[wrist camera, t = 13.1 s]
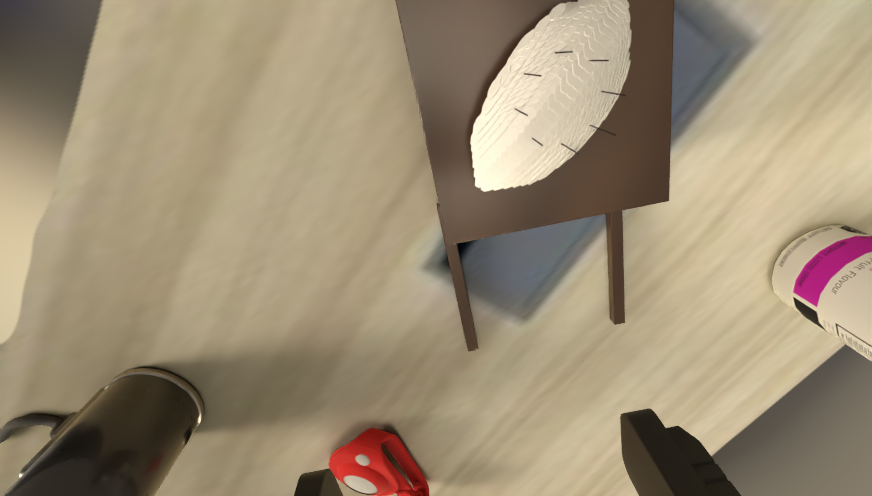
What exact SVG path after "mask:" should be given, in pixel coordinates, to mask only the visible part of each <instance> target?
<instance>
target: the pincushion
mask: <svg viewBox="0 0 872 496" xmlns="http://www.w3.org/2000/svg"><path fill="white" fill-rule="evenodd" d="M628 8H629V3H628V1H627V0H578V2H573V3H572V2H567V3H560V4H559V5H557V6H556V7H554V8H553V9H552V11H551V12H550V14H549V15H547V16H545V17H544V18H543V19H542V20H540V21H539V22H538V24H537V25H536V27H535V29H532V30H531V31H530V32H528V33H527V34H526V35H525V36H524V37H523V38H522V39H521V41H520V42H519V43H518V45H517V47H516V48H515V49H514V51H513V52H512V54H511V56H510V57H509V58H508V60H507V63H506V65H505V66H504V67H503V68H502V70H501V71H500V73H499V74H498V75H497V77H496V79H495V80H494V81H493V82H492V84H491V86H490V88H489V90H488V94H487V98H486V99H485V102H484V104H483V106H482V112H481V114H480V115H479V116H478V117H477V119H476V121H475V123H474V125H473V133H472V135H471V142H470V144H471V151H472V159H473V166H472V167H473V168H474V177H475V178H476V179H475V186H476V187H478V188H481V190H482V191H484V192H486V191H490V190H492V189H493V190H494V191H496V190H499V189H502V188H504V189H507V188H510V187H514V188H515V187H517V186H520V185H521V186H524V185H526V184H528V185H531V184H532V183H534V182H536V181H537V180H539V181H540V180H541V179H543V178H545V177H547V176H548V175H549V174H550V173H552V172H553V171H554V169H557V168H558V167H560V166H561V165H562V164H563V163H564V162H565V161H566V160H568V159H570V158H571V157H572V156H573V155H574V154H575V153H576V154H578V155H579V153H577V151H578V150H579V149H580V148H581V147H582V146H583V145H584V144H585V143H586V141H587V140H588V139H589V138H590V137H591V136H592V135H593V134H594V132H595V131H596V129H599V130H602V131H604V132H607V133H609V134H612V135H614V136H616V134H613V133H611V132H608V131H606V130H603V129H600V128H599V126H600V125H601V123H602V121H603V120H605V119H606V117H607V115H608V114H609V112H610V110H611V109H612V107H613V105H614V103H615V102H616V100H617V99H618V97H619V95H621V96H626V95H624V94H620V92H621V89H622V87H623V84H624V82H625V80H626V77H627V74H628V70H629V66H630V61H631V60H629V56H630V52H629V53H628V51H629V48H630V44H631V29H630V23H629V22H630V13H629V10H628ZM628 61H629V62H628ZM616 96H617V97H616ZM614 97H615V98H614ZM613 99H614V101H613ZM612 102H613V103H612ZM611 104H612V105H611ZM609 105H610V106H609ZM608 107H609V108H608ZM607 110H608V111H607ZM594 129H595V130H594Z"/></svg>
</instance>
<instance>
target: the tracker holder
mask: <svg viewBox="0 0 872 496" xmlns="http://www.w3.org/2000/svg"><path fill="white" fill-rule="evenodd" d="M382 443H384V445H385V446H386V447H387V449H388V450H389V452H390V453H391V454H392V456H393V457H394V458H395V460H396V461H397V463H398V464H399V465H400V467H401V468H402V470H403V471H404V472H405V473H406V475H407V476H408V478H409V480H410V481H411V483H412V485H413V488H412V486H411V485H410V484H409V483H408V481H407V480H406V479H405V478H404V477H403V476H402V475H401V474H400V472H399V471H398V470H397V469H396V468H395V467H394V466H393V465H392V464H391V462H390V461H389V460H388V458H387V457H386V455H385V454H384V452H383V450H382V448H381V444H382ZM329 469H331V470H332V472H333V474H334V476H335V477H336V478H337V479H338V480H340V481H341V482H342V483H344V484H345V485H346V486H347V487H349V488H350V489H352V490H354V491H356V492H359V493H362V494H366V495H376V496H387V495H392V494H394V493H396V494H397V496H429V487H428V484H427V481H426V479H425V478H424V476H423V474H422V473H421V471H420V470H419V468H418V467H417V465H416V464H415V462H414V461H413V459H412V458H411V456H410V455H409V453H408V452H407V450H406V449H405V447H404V446H403V444H402V443H401V441H400V440H399V438H398V437H397V436H396V435H394V434H391V433H388V432H385V431H382V430H379V429H376V428H371V429H368V430H366V431H364V432H363V433H361V434H360V435H359V436H358V437H357V438H356V439H354V440H353V441H351V442H350V443H348V444H347V445H345V446H343V447H340V448H339V449H337V450H336V451H335V452H334V453H333V454H332V456H331V458H330V462H329ZM413 489H414V490H413Z"/></svg>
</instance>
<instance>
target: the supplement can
mask: <svg viewBox="0 0 872 496" xmlns="http://www.w3.org/2000/svg"><path fill="white" fill-rule="evenodd" d="M772 285H773V289H774V293H775V294H776V295H777V296H778V297H779V298H780V300H781V301H782V302H784V303H785V304H787V305H788V306H790V307H791V308H793V309H794V310H796V311H797V312H799V313H800V314H802V315H803V316H805V317H806V318H808V319H809V320H811V321H812V322H814V323H815V324H817V325H818V326H820V327H821V328H823V329H824V330H826V331H827V332H828V333H830V334H831V335H833V336H834V337H836V338H837V339H839V340H840V341H842V342H843V343H845V344H846V345H848V346H850V347H851V348H852V349H854V350H855V351H857V352H858V353H860V354H861V355H863V356H864V357H866V358H867V359H869V360H870V361H872V236H871V235H869V234H866V233H864V232H861V231H858V230H856V229H853V228H851V227H848V226H841V225H829V226H826V227H822V228H819V229H816V230H812V231H811V232H808V233H806V234H804V235H802V236H800V237H799V238H797V239H795V240H794V241H792V242H791V243H790V244H789V245H788V246H787V247H786V248H785V249H784V250H783V251H782V252H781V254H780V256H779V257H778V259H777V261H776V263H775V265H774V270H773V275H772Z"/></svg>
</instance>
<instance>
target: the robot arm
mask: <svg viewBox="0 0 872 496" xmlns="http://www.w3.org/2000/svg"><path fill="white" fill-rule="evenodd" d="M203 416H204V406H203V402H202V400H201V398H200V396H199V394H198V393H197V392H196V390H195V389H194V388H193V387H192V386H191V385H190V384H188V383H187V382H186V381H184V380H183V379H181V378H180V377H178V376H176V375H174V374H171V373H169V372H166V371H163V370H158V369H152V368H137V369H132V370H128V371H125V372H123V373H121V374H119V375H118V376H117V377H115V378H114V379H113V380H112V381H111V383H110V384H109V385H108V386H107V387H106V388H102V389H100V390H99V391H98V392H97V393H96V394H95V396H94V397H93V398H92V399H91V400H90V401H89V402H88V403H87V404H86V405H85V406H84V407H83V408H82V409H81V410H80V411H79V412H74V413H72V414H71V415H70V416H69V417H68V418H67V419H66V420H65V421H64V420H63V419H61V418H58V417H54V416H49V415H30V416H23V417H18V418H15V419H13V420H11V421H9V422H8V423H7V424H5V426H4V427H3V428H2V429H1V431H0V443H1V442H3V441H5V440H6V439H8V438H9V437H10V435H11V434H12V433H13V431H14V430H15V429H16V428H19V427H23V426H31V425H44V426H50V427H52V428H53V429H52V430H51V432H50V438H51V440H50V441H49V442H48V443H47V444H46V445H45V446H44V447H43V448H42V449H41V450H40V451H39V452H38V453H37V454H36V455H35V456H34V457H33V458H32V459H31V461H30V462H29V463H28V464H27V465H26V466H25V467H24V468H23V469H22V470H21V471H20V478H19V479H18V480H17V481H16V482H15V483H14V484H13V485H12V486H11V487H10V488H9V489H8V490H7V491H6V492H5V493H4V494H3V495H2V496H154V495H155V493H156V492H157V490H158V489H159V487H160V485H161V484H162V482H163V481H164V479H165V477H166V476H167V474H168V473H169V471H170V469H171V468H172V466H173V465H174V463H175V461H176V460H177V458H178V457H179V455H180V453H181V452H182V450H183V449H184V447H185V445H186V444H187V442H188V441H190V440H189V439H190V437H191V436H193V435H192V434H194V432H195V431H196V429H197V428H198V426H199V425H200V423H201V421H202V419H203ZM620 420H621V442H622V456H623V460H624V464H625V467H626V470H627V472H628V475H629V477H630V479H631V481H632V483H633V485H634V487H635V489H636V491H637V492H638V494H639V496H741V495H740V494H739V492H738V491H737V490H736V488H735V487H734V486H733V484H732V483H731V482H730V481H728V480H727V478H726V475H725V474H724V473H723V471H722V470H721V469H720V467H719V466H718V465H717V464H715V462H714V460H713V458H712V457H711V456H710V454H709V453H708V452H707V450H706V449H705V448H704V446H703V445H702V444H701V443H700V441H699V440H697V439H696V438H695V437H693V436H692V435H690V434H689V433H688V432H686V431H685V430H684V429H682V428H681V427H679V426H675V427H670V428H665V427H664V425H663V424H662V422H661V421H660V419H659V418H658V416H657V415H656V414H655V412H654V411H653V410H651V409H644V410H638V411H633V412H628V413H623V414H621V417H620ZM188 443H189V442H188ZM186 446H187V445H186ZM185 448H186V447H185ZM183 451H184V450H183ZM182 453H183V452H182ZM294 496H343V494H342V492H341V490H340V488H339V485H338V483H337V481H336V479H335V476H334V474H333V472H332V470H331V469H324V470H319V471H314V472H309V473H304V474H302V475H301V476H300V478H299V480H298V484H297V487H296V491H295V494H294Z"/></svg>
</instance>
